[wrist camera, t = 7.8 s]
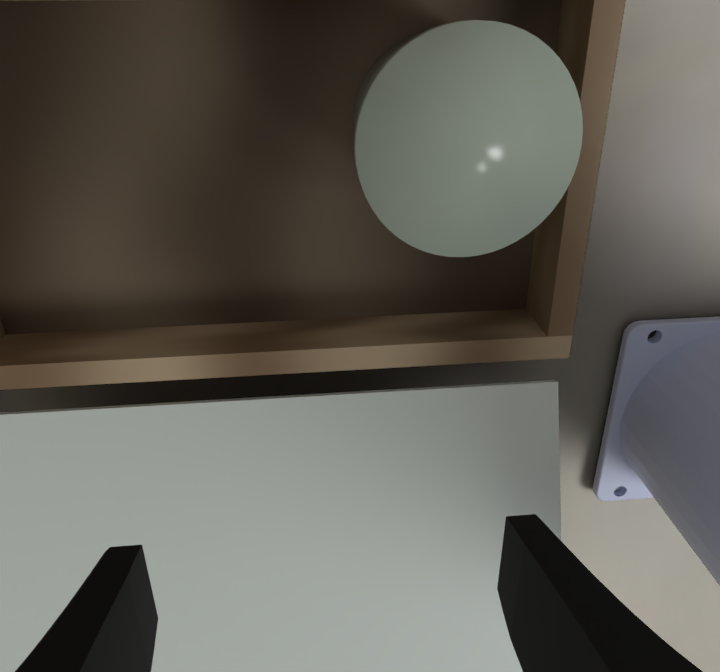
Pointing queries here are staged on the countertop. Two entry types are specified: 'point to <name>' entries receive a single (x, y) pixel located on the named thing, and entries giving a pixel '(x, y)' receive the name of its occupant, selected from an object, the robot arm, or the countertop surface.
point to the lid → (285, 523)
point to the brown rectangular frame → (252, 195)
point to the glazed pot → (466, 136)
